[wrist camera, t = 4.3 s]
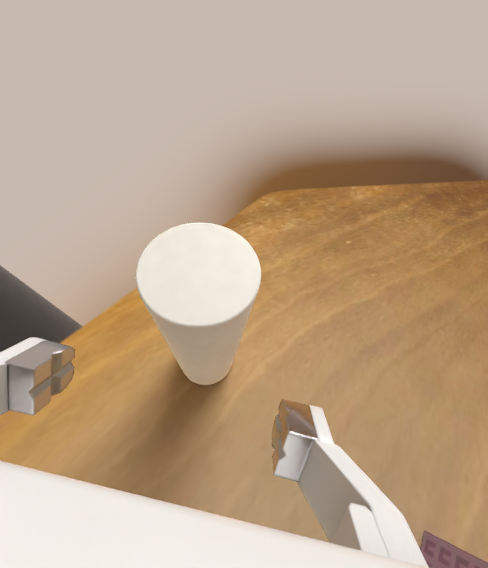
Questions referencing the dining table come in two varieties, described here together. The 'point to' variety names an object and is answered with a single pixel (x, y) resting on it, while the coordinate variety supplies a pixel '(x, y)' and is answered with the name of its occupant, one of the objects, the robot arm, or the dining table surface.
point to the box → (447, 554)
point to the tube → (200, 295)
